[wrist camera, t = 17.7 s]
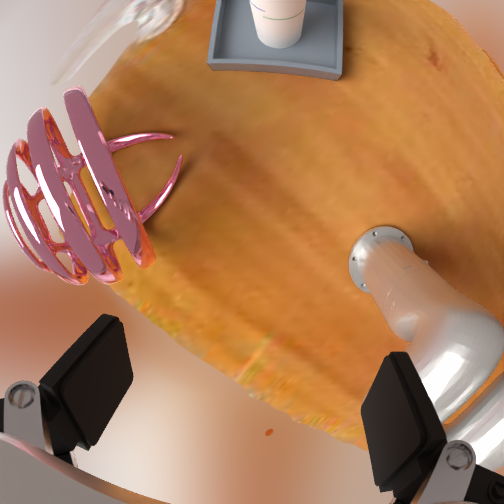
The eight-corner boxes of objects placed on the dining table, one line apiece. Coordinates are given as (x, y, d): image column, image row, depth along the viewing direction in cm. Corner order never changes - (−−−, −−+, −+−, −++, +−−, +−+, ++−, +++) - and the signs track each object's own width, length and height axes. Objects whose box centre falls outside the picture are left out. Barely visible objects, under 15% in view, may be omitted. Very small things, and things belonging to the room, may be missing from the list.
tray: (338, 5, 32) (342, -5, 28) (336, 81, 37) (341, 74, 34) (223, -3, 33) (219, -14, 30) (212, 70, 39) (206, 63, 35)
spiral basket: (183, 19, 20) (-59, 145, 11) (260, 248, 34) (68, 365, 25) (136, 80, 42) (9, 147, 33) (184, 206, 57) (71, 272, 47)
